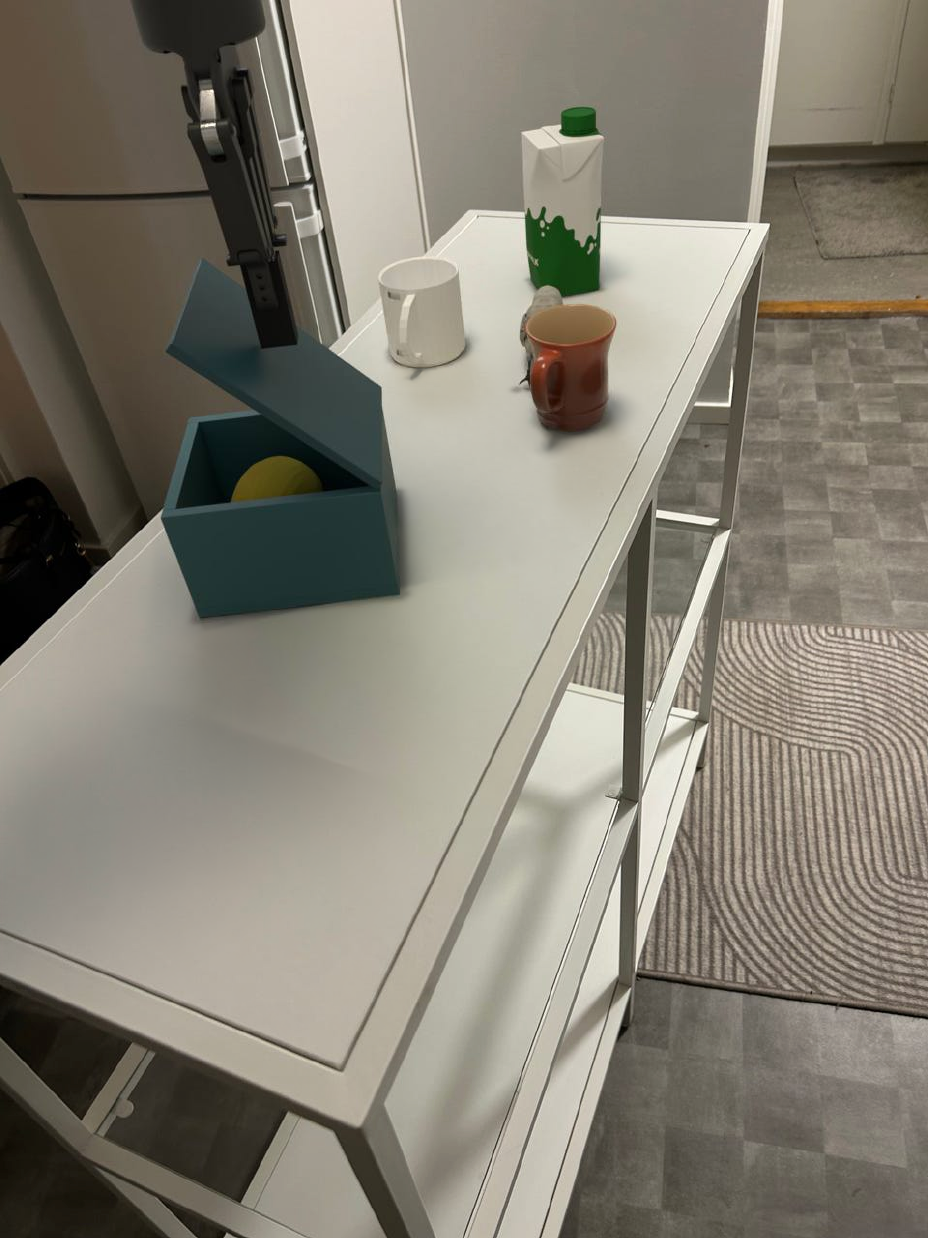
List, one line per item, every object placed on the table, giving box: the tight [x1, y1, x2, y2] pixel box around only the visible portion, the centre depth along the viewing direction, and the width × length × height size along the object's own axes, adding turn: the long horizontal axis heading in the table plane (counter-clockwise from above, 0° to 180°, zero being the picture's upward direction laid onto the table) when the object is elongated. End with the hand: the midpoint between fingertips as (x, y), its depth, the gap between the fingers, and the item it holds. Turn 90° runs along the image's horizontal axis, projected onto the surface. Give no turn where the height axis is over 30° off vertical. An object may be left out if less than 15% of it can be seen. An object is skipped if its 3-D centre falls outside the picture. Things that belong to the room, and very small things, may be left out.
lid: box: [165, 257, 383, 490], centre depth 71 cm, size 18×15×1 cm
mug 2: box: [525, 303, 617, 433], centre depth 91 cm, size 12×9×10 cm
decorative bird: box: [518, 285, 564, 389], centre depth 103 cm, size 5×16×7 cm, turn 173°
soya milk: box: [520, 106, 605, 298], centre depth 113 cm, size 9×9×20 cm
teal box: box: [160, 408, 401, 619], centre depth 80 cm, size 17×15×10 cm
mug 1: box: [377, 255, 466, 368], centre depth 106 cm, size 12×9×9 cm
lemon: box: [231, 456, 324, 503], centre depth 80 cm, size 11×8×8 cm
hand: (279, 341), depth 70 cm, fingers closed
